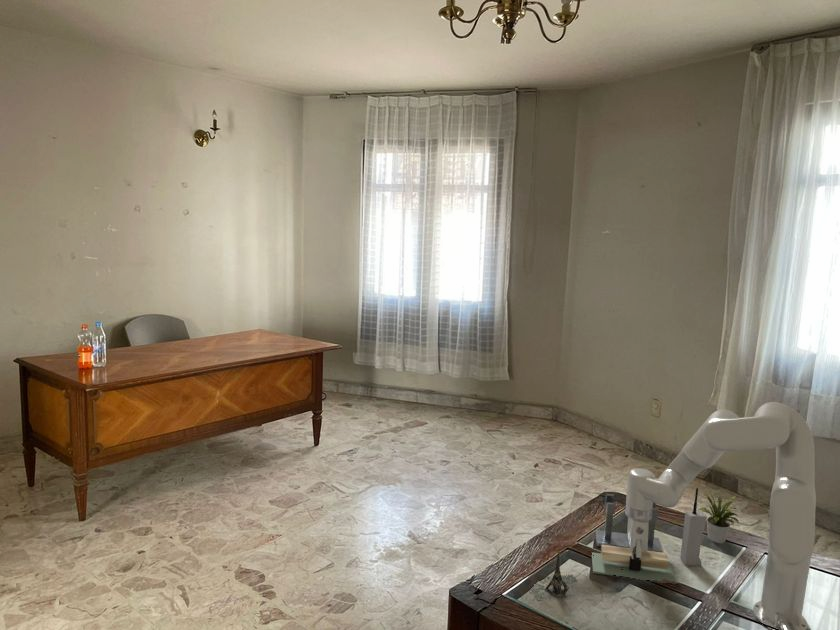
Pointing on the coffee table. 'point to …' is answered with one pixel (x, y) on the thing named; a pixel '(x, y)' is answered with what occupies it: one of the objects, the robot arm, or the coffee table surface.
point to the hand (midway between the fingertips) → (633, 564)
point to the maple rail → (624, 554)
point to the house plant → (719, 519)
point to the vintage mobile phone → (692, 535)
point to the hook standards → (621, 538)
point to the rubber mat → (643, 574)
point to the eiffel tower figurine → (553, 583)
